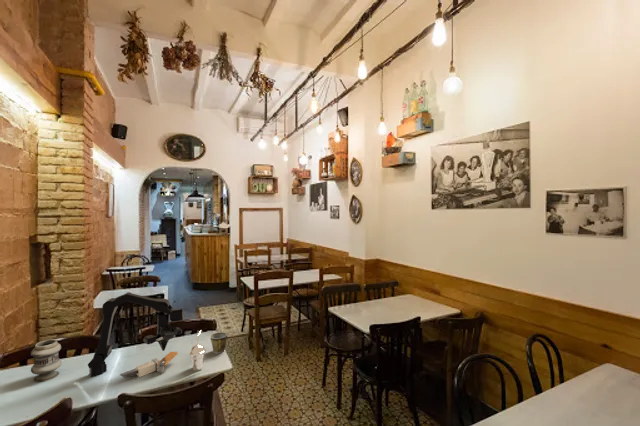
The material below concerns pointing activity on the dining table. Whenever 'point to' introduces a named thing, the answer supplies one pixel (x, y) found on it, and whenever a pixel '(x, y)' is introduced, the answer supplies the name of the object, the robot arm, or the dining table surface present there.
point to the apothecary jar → (46, 360)
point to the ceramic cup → (218, 342)
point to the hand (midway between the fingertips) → (163, 350)
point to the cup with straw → (197, 355)
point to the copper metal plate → (167, 358)
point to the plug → (143, 369)
